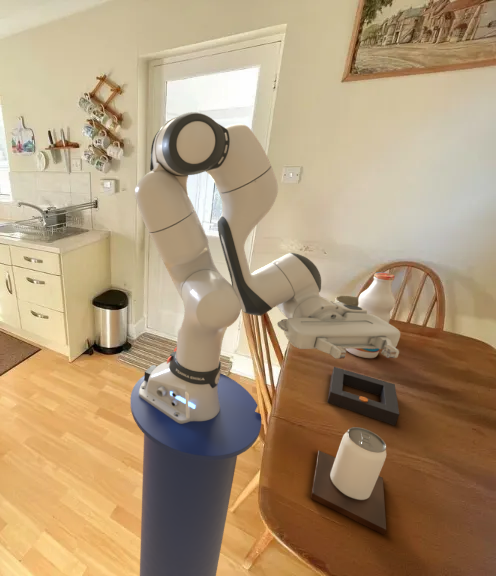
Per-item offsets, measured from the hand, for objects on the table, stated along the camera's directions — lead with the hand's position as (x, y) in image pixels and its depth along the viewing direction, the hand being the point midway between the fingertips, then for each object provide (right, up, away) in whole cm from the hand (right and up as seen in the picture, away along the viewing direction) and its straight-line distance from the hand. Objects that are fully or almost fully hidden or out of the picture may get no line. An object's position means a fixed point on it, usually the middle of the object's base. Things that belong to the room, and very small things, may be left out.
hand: (367, 355), depth 56 cm
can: (0, -27, +5) cm, 27 cm away
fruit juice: (+39, -10, +51) cm, 65 cm away
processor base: (+22, -18, +30) cm, 41 cm away
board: (0, -28, +5) cm, 29 cm away
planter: (+48, -3, +68) cm, 83 cm away
